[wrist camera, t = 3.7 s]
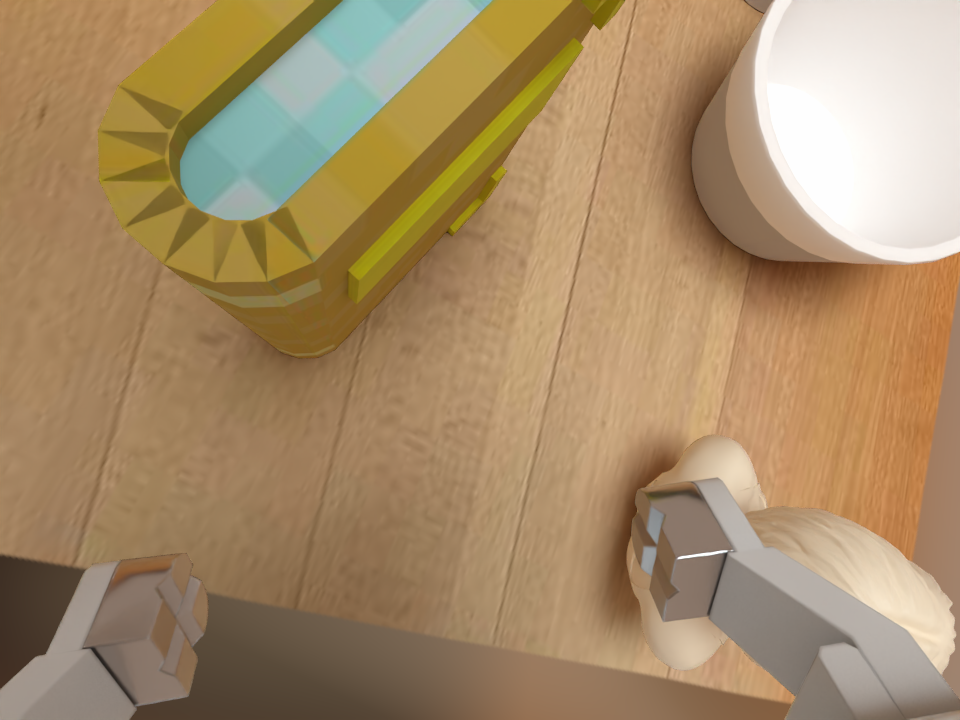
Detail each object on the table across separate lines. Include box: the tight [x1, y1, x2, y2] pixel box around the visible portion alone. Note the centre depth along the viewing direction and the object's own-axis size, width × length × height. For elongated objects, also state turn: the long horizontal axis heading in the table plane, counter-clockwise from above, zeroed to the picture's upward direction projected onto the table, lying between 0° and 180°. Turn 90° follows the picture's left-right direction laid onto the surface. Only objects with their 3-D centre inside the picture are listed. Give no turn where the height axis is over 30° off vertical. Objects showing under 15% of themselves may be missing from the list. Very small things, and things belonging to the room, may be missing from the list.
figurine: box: [627, 435, 956, 676], centre depth 33 cm, size 14×9×20 cm
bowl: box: [691, 0, 960, 265], centre depth 41 cm, size 19×19×11 cm
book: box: [98, 0, 625, 358], centre depth 27 cm, size 17×7×25 cm, turn 138°
